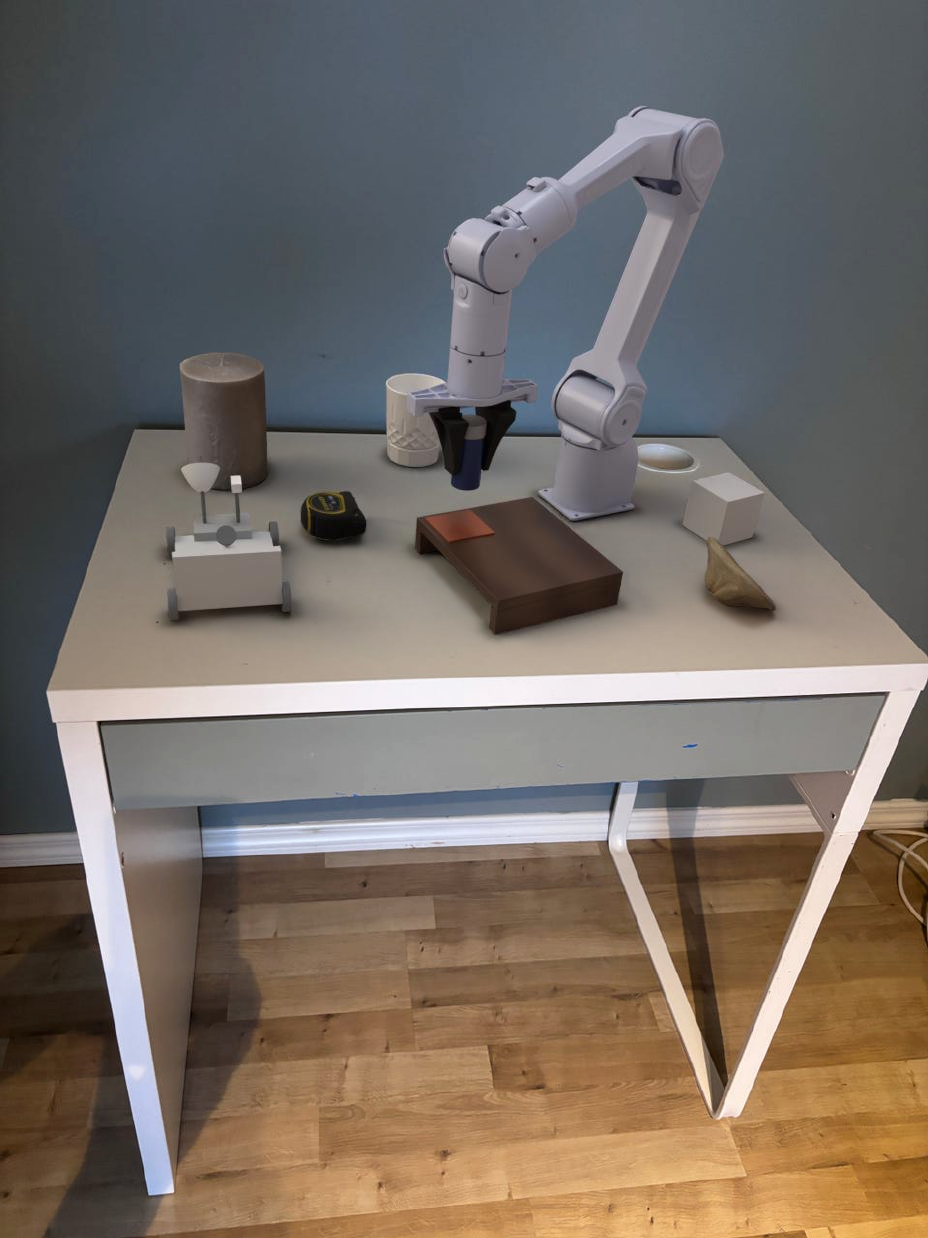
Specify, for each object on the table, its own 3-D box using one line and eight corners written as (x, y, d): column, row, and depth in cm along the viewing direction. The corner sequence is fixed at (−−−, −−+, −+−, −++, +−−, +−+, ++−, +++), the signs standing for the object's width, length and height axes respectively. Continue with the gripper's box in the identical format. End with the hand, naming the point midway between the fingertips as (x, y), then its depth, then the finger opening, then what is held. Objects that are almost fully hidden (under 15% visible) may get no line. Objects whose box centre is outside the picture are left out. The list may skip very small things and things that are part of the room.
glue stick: (471, 475, 110) (477, 412, 106) (486, 488, 108) (492, 424, 104) (444, 479, 109) (449, 416, 105) (458, 493, 106) (464, 428, 102)
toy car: (159, 452, 103) (272, 448, 106) (168, 534, 108) (274, 529, 111) (160, 536, 89) (290, 529, 91) (169, 626, 94) (292, 617, 97)
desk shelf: (528, 526, 117) (532, 494, 114) (617, 604, 104) (624, 570, 101) (414, 548, 110) (416, 515, 108) (494, 634, 97) (498, 598, 95)
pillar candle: (272, 458, 126) (269, 343, 118) (262, 493, 118) (258, 372, 110) (195, 454, 126) (186, 338, 117) (180, 488, 118) (169, 366, 109)
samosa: (764, 585, 98) (702, 522, 104) (731, 614, 99) (671, 551, 104) (786, 612, 105) (727, 552, 111) (755, 639, 106) (698, 579, 112)
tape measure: (367, 544, 110) (368, 514, 108) (306, 549, 108) (306, 518, 106) (354, 515, 115) (355, 486, 113) (295, 519, 113) (295, 490, 111)
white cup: (389, 441, 134) (392, 370, 128) (447, 448, 133) (452, 377, 128) (377, 465, 127) (380, 391, 122) (437, 473, 127) (442, 399, 121)
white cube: (682, 525, 120) (692, 480, 117) (717, 515, 123) (728, 471, 120) (716, 547, 116) (728, 501, 113) (752, 537, 119) (764, 492, 116)
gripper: (519, 329, 106) (505, 446, 113) (396, 339, 100) (391, 463, 107) (554, 350, 101) (537, 471, 108) (427, 363, 95) (419, 490, 102)
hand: (466, 469), depth 107 cm, fingers closed on glue stick, 3 cm apart
